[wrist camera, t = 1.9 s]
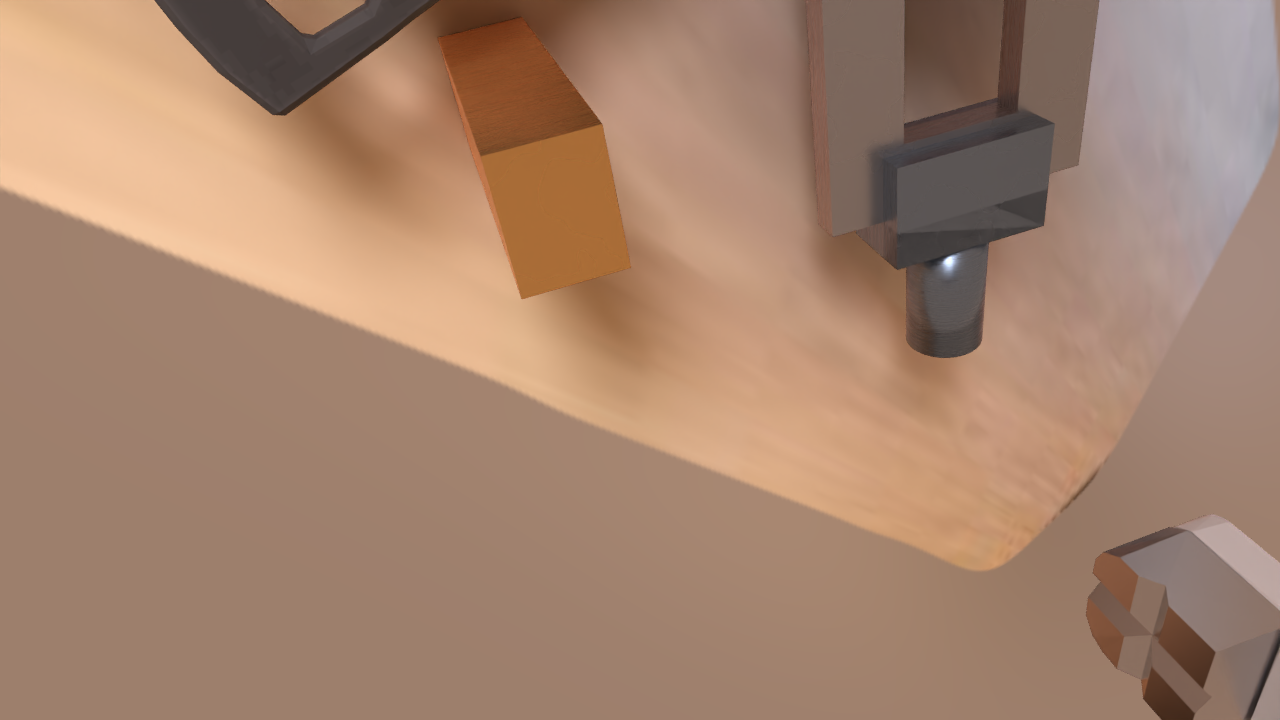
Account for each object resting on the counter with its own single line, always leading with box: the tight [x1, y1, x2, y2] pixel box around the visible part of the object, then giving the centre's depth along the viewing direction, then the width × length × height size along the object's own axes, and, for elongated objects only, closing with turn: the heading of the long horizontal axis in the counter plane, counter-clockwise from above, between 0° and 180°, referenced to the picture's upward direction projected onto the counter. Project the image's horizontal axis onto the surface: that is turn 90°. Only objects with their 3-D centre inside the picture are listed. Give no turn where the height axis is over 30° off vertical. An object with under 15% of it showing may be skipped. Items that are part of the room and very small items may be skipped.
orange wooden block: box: [438, 17, 631, 299], centre depth 27 cm, size 4×3×12 cm
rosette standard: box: [806, 0, 1099, 358], centre depth 27 cm, size 23×10×18 cm, turn 10°
